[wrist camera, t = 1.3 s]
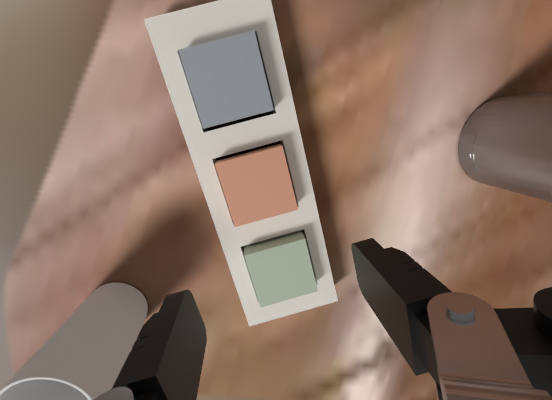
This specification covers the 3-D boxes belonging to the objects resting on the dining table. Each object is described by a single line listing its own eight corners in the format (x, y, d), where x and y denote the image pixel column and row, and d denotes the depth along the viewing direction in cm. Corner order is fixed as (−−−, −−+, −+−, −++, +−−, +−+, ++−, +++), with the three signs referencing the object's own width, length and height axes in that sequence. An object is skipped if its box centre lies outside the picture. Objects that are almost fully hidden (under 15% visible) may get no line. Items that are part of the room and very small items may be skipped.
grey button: (253, 37, 24) (254, 30, 22) (271, 110, 25) (273, 110, 23) (183, 55, 23) (177, 49, 22) (206, 128, 25) (203, 128, 23)
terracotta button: (279, 143, 26) (282, 145, 24) (294, 203, 28) (298, 209, 26) (216, 160, 26) (214, 164, 24) (235, 219, 28) (234, 227, 26)
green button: (301, 230, 29) (305, 238, 27) (313, 280, 31) (318, 291, 29) (244, 246, 29) (244, 255, 27) (259, 295, 30) (260, 307, 28)
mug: (131, 270, 30) (62, 362, 19) (162, 318, 32) (115, 428, 21) (45, 305, 30) (-77, 418, 19) (80, 351, 32) (-11, 479, 21)
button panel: (266, 0, 25) (268, -13, 22) (331, 287, 33) (337, 300, 31) (153, 28, 24) (143, 19, 22) (249, 311, 33) (249, 326, 31)
